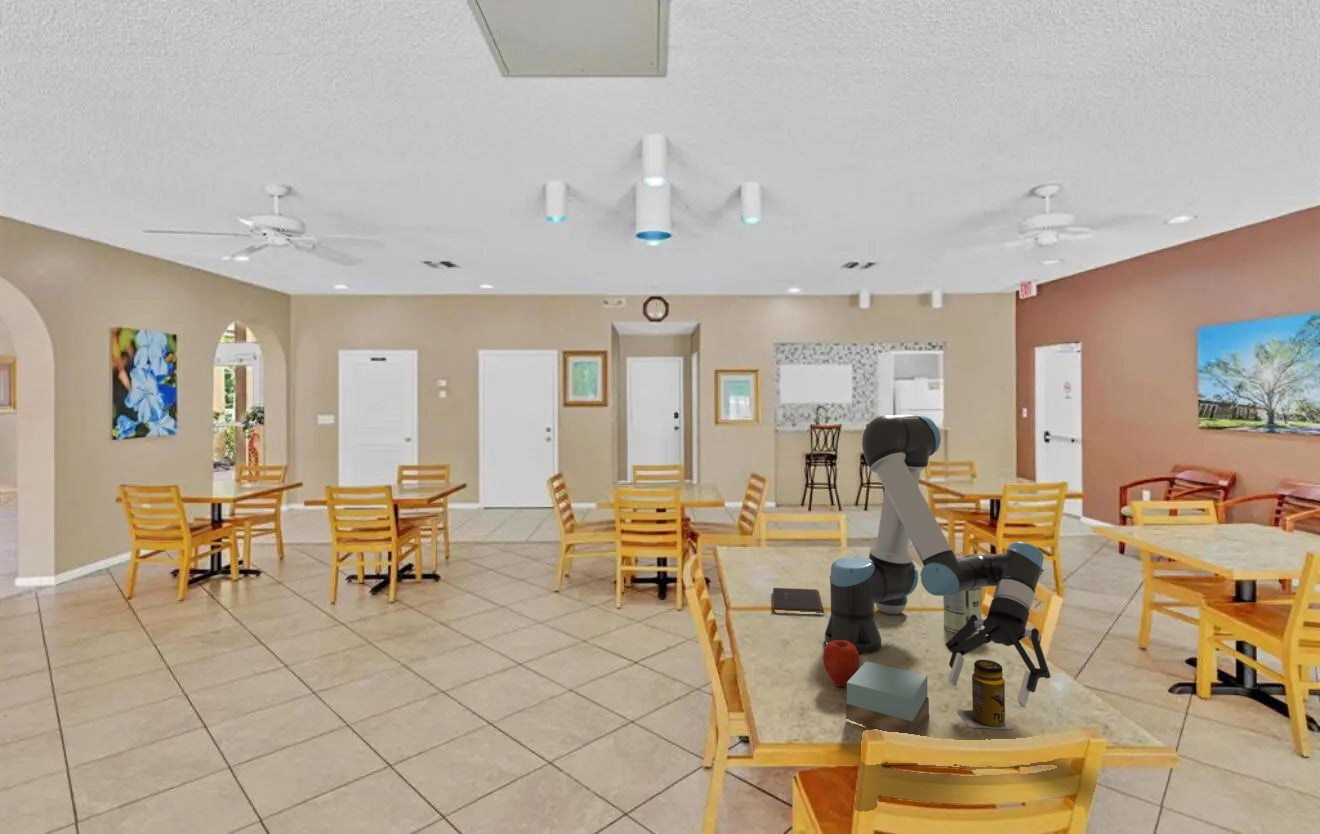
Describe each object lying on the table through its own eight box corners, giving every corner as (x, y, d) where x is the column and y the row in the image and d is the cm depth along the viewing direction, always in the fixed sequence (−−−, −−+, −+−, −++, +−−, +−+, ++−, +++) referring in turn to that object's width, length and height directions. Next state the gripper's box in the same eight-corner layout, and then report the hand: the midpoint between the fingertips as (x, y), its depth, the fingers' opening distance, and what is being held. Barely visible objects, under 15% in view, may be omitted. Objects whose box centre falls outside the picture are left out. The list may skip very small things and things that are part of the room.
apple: (844, 697, 140) (844, 650, 140) (815, 684, 147) (814, 639, 147) (867, 687, 145) (867, 641, 145) (838, 675, 152) (837, 631, 152)
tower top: (846, 703, 128) (846, 682, 128) (866, 681, 139) (866, 661, 139) (912, 721, 121) (912, 698, 121) (927, 696, 131) (927, 675, 131)
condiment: (1013, 729, 125) (1012, 671, 125) (970, 728, 126) (969, 670, 126) (997, 712, 132) (996, 656, 132) (956, 711, 133) (955, 656, 133)
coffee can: (949, 620, 190) (948, 575, 190) (985, 628, 183) (985, 580, 183) (938, 629, 182) (937, 582, 182) (976, 637, 175) (975, 588, 175)
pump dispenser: (913, 617, 193) (912, 568, 193) (879, 617, 194) (879, 569, 194) (901, 606, 204) (900, 561, 204) (869, 606, 204) (869, 561, 204)
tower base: (846, 724, 129) (845, 702, 129) (868, 700, 139) (868, 681, 139) (909, 744, 121) (909, 721, 121) (929, 718, 131) (928, 697, 131)
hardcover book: (773, 615, 199) (773, 608, 199) (773, 594, 221) (773, 587, 221) (824, 617, 196) (824, 610, 196) (818, 595, 219) (818, 589, 219)
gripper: (1079, 628, 130) (1058, 723, 120) (959, 602, 149) (932, 683, 139) (1071, 608, 127) (1048, 705, 117) (949, 585, 145) (920, 666, 135)
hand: (985, 693), depth 128 cm, fingers open, 13 cm apart
